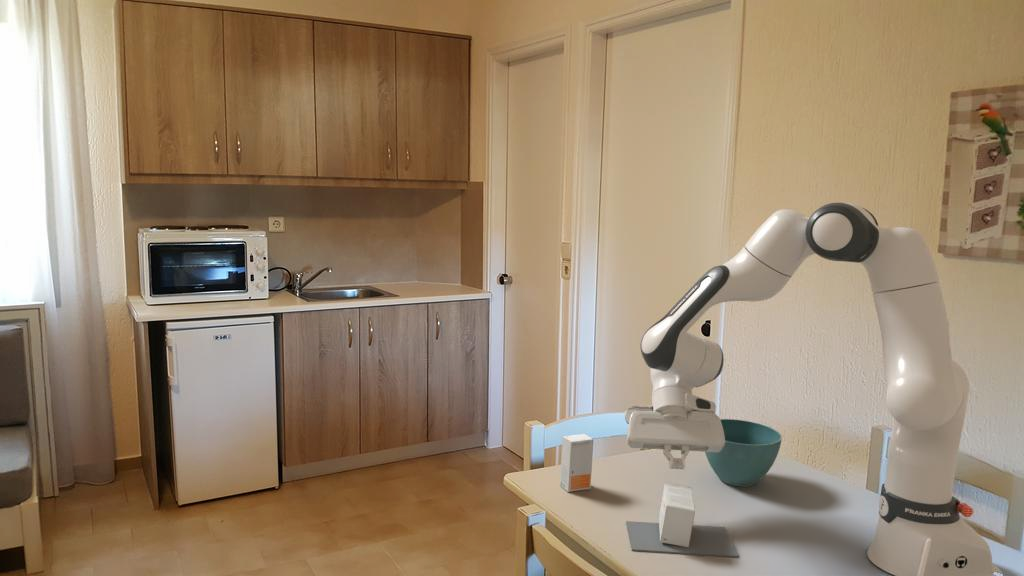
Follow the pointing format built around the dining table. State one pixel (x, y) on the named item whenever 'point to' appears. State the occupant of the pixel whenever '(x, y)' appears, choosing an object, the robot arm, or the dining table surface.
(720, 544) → the mat
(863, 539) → the dining table surface
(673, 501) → the small box
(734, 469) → the teal bowl
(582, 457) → the skincare box
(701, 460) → the dining table surface
